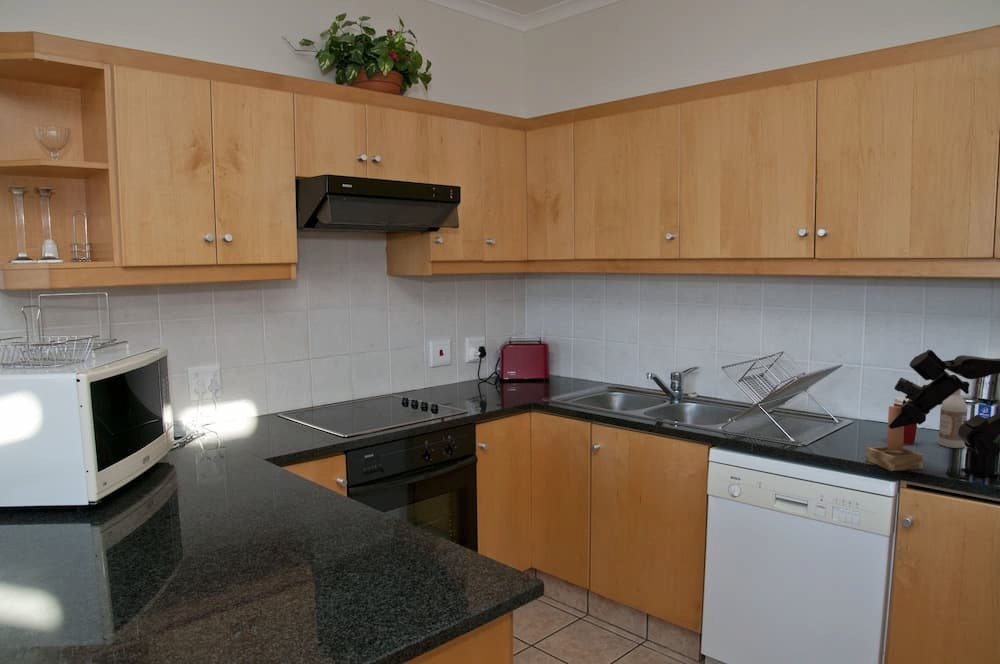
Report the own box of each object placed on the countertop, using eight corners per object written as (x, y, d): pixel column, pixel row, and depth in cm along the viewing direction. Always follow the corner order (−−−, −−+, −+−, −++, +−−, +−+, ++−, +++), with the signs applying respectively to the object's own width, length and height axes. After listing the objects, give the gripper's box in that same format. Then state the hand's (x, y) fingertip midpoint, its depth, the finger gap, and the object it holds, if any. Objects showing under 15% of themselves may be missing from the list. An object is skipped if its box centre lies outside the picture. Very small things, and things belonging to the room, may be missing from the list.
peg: (906, 450, 200) (908, 408, 198) (894, 451, 199) (895, 409, 198) (895, 446, 204) (897, 405, 202) (883, 447, 203) (885, 406, 202)
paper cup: (920, 441, 226) (923, 398, 224) (915, 446, 220) (917, 402, 218) (893, 437, 231) (895, 395, 229) (887, 442, 225) (889, 399, 224)
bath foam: (933, 443, 223) (936, 381, 221) (949, 441, 225) (953, 380, 223) (953, 449, 217) (957, 385, 214) (970, 447, 219) (974, 384, 216)
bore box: (922, 468, 198) (923, 454, 198) (891, 471, 196) (892, 457, 196) (895, 458, 208) (896, 445, 207) (865, 460, 206) (866, 447, 205)
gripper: (916, 364, 204) (871, 398, 212) (913, 374, 189) (865, 410, 196) (946, 393, 201) (900, 427, 208) (946, 406, 185) (896, 441, 193)
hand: (890, 425), depth 201 cm, fingers closed on peg, 4 cm apart
